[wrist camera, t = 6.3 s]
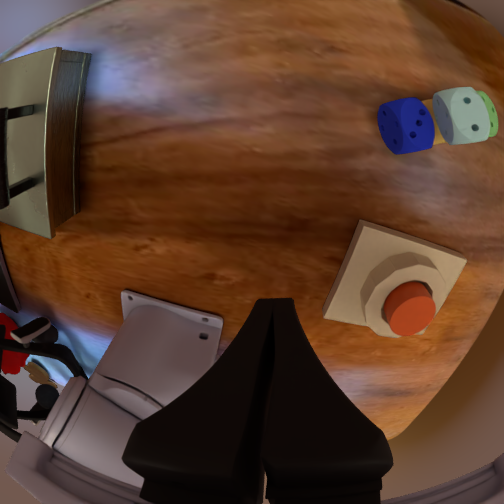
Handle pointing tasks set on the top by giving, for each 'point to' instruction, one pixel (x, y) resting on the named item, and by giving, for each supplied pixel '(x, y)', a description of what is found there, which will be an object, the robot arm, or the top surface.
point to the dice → (437, 120)
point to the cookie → (38, 374)
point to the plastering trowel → (27, 140)
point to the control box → (388, 275)
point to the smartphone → (7, 289)
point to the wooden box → (67, 133)
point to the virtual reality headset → (4, 392)
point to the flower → (11, 358)
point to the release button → (409, 308)
